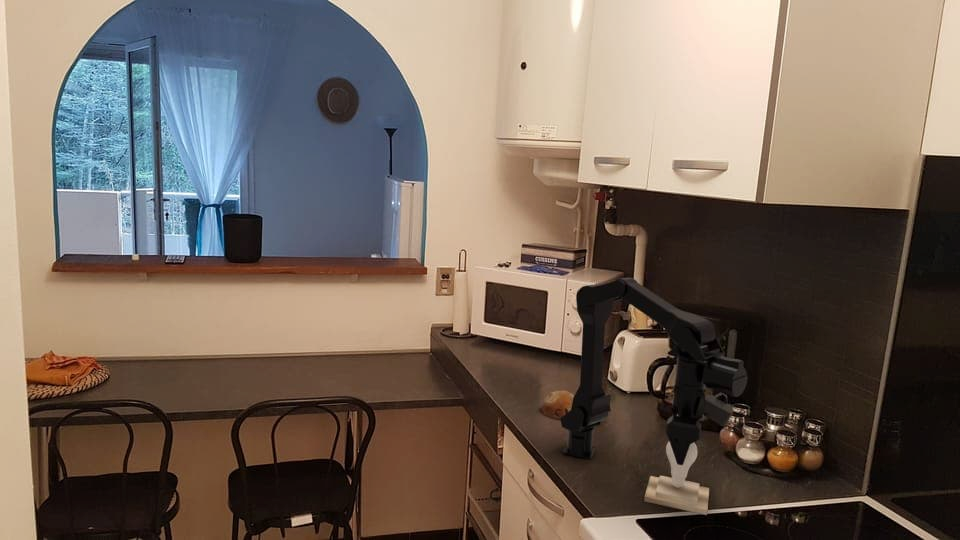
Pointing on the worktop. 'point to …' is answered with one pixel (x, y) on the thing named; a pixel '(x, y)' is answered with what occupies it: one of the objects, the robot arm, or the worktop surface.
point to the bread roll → (557, 404)
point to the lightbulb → (681, 470)
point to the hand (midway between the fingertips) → (681, 455)
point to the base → (677, 495)
